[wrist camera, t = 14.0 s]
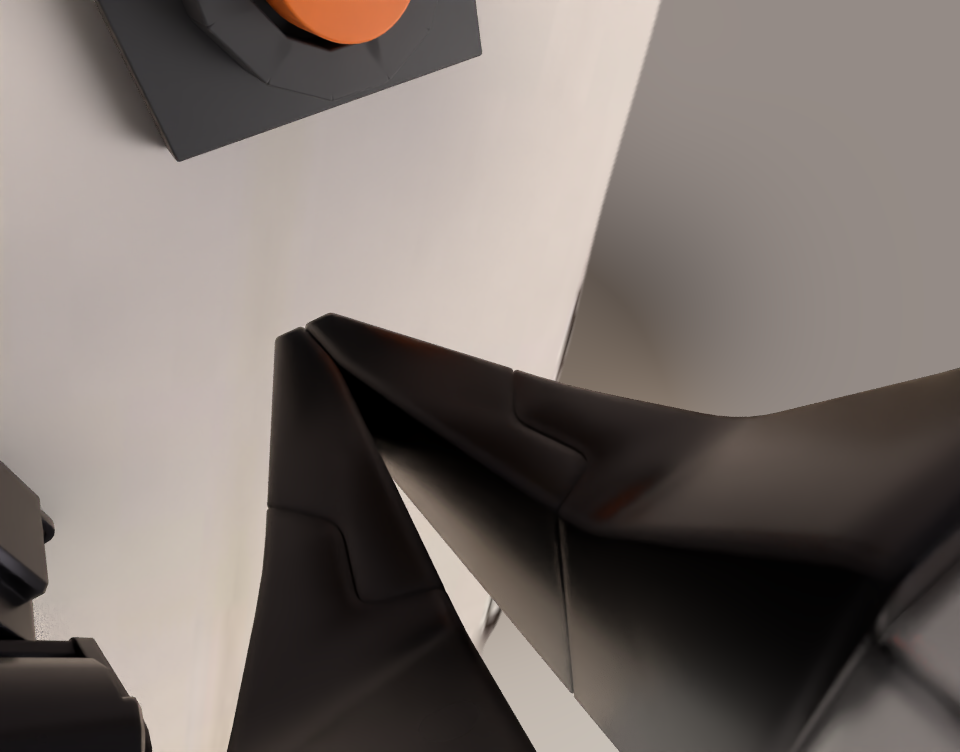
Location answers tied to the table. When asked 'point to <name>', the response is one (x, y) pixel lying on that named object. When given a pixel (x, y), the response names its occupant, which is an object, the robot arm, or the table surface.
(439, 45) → the opener housing
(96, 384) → the table surface
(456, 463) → the robot arm
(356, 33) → the button
